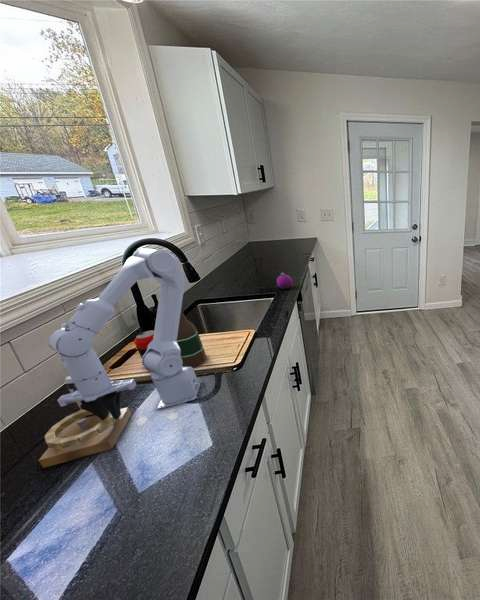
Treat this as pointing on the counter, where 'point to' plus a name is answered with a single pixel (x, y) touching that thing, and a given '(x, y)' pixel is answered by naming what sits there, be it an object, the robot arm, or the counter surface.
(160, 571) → the counter surface
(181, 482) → the counter surface
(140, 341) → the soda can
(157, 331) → the robot arm
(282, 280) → the christmas ornament
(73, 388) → the small jar
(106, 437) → the stand
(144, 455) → the counter surface
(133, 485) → the counter surface
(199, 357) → the beer bottle
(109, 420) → the hoop
